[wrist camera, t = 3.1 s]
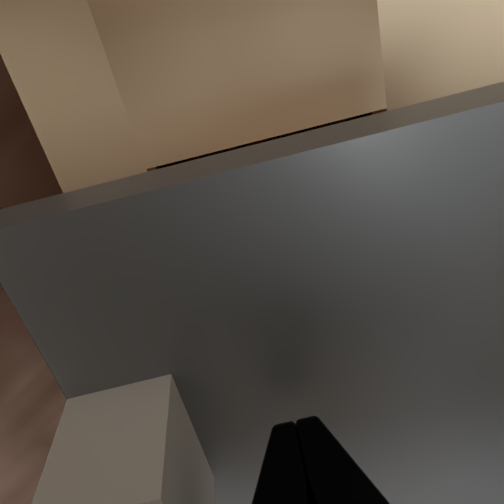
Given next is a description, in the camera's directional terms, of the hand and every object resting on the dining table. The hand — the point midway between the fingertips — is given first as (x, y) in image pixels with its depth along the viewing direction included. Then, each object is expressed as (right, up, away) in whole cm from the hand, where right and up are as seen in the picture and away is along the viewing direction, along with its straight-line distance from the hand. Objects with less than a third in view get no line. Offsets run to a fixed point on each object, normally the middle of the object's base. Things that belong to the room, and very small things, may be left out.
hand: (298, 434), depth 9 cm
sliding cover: (+1, 0, +3) cm, 3 cm away
